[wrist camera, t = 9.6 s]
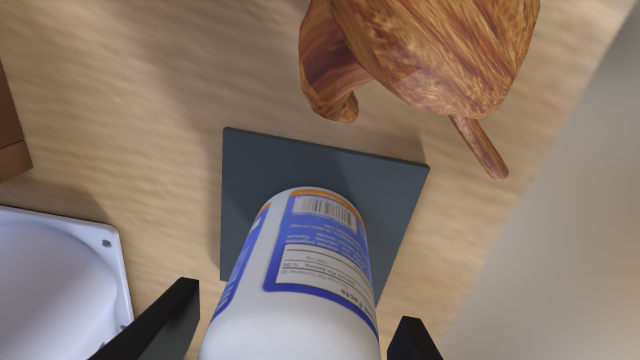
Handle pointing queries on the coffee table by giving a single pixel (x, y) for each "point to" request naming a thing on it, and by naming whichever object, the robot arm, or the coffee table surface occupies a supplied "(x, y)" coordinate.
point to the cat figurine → (418, 58)
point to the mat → (324, 172)
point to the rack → (11, 136)
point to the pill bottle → (298, 285)
